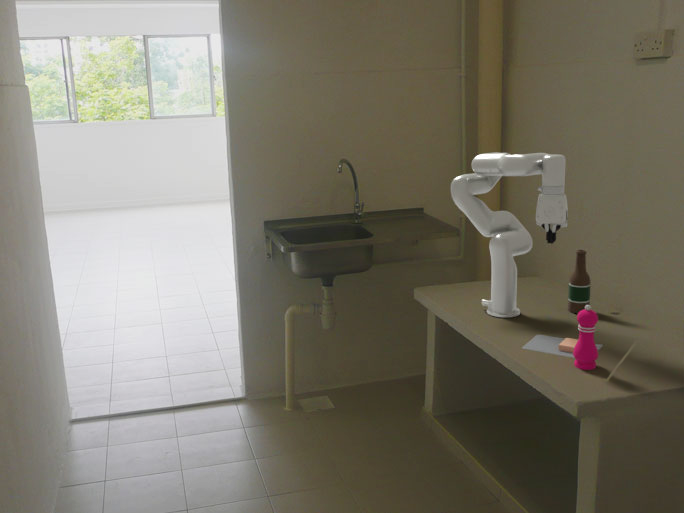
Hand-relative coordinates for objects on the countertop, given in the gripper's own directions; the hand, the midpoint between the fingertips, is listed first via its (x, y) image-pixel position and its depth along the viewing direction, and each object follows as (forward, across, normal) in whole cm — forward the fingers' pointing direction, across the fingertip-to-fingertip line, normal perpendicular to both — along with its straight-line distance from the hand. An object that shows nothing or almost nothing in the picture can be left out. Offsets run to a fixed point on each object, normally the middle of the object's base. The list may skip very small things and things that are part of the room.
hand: (551, 242), depth 242 cm
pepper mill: (+31, +22, -32) cm, 50 cm away
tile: (+30, +11, -19) cm, 37 cm away
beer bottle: (+31, +4, +24) cm, 40 cm away
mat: (+31, +11, -19) cm, 38 cm away
